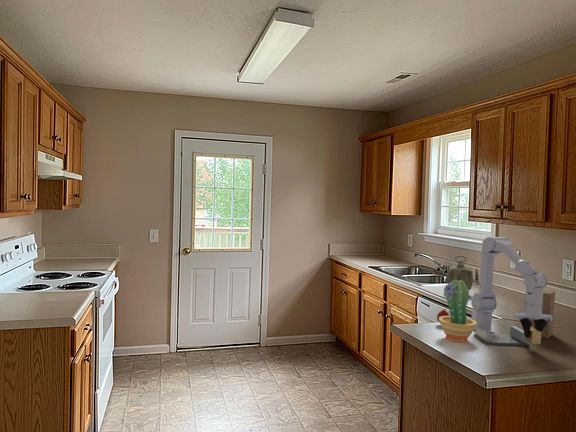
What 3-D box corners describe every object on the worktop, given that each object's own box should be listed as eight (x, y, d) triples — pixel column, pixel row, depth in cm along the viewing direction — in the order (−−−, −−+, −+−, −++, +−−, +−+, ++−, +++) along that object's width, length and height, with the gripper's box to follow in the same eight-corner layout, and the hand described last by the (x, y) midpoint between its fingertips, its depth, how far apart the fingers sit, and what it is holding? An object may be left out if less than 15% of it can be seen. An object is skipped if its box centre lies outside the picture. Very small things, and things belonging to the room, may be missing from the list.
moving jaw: (509, 335, 197) (510, 326, 197) (514, 335, 197) (515, 326, 197) (522, 342, 187) (522, 332, 187) (527, 342, 187) (527, 332, 187)
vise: (473, 335, 198) (474, 324, 198) (514, 337, 198) (514, 326, 198) (486, 344, 186) (486, 332, 186) (529, 346, 186) (530, 334, 186)
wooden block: (528, 330, 212) (530, 287, 211) (552, 334, 205) (555, 291, 205) (523, 334, 204) (525, 290, 203) (548, 339, 198) (551, 293, 197)
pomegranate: (434, 325, 213) (435, 308, 213) (440, 323, 217) (441, 306, 217) (446, 328, 209) (447, 310, 209) (451, 326, 213) (452, 309, 213)
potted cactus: (434, 332, 201) (437, 276, 200) (470, 334, 199) (473, 278, 198) (441, 343, 186) (445, 282, 185) (481, 346, 184) (484, 284, 183)
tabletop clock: (469, 294, 293) (471, 255, 292) (472, 297, 284) (475, 257, 283) (445, 292, 295) (448, 254, 294) (448, 295, 286) (451, 256, 285)
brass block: (523, 339, 184) (524, 327, 184) (532, 339, 184) (532, 327, 184) (531, 343, 178) (532, 331, 178) (540, 344, 178) (541, 331, 178)
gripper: (521, 305, 177) (519, 339, 177) (558, 306, 177) (555, 341, 177) (512, 301, 184) (510, 334, 184) (547, 302, 184) (545, 335, 184)
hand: (531, 337), depth 181 cm, fingers closed on brass block, 3 cm apart
